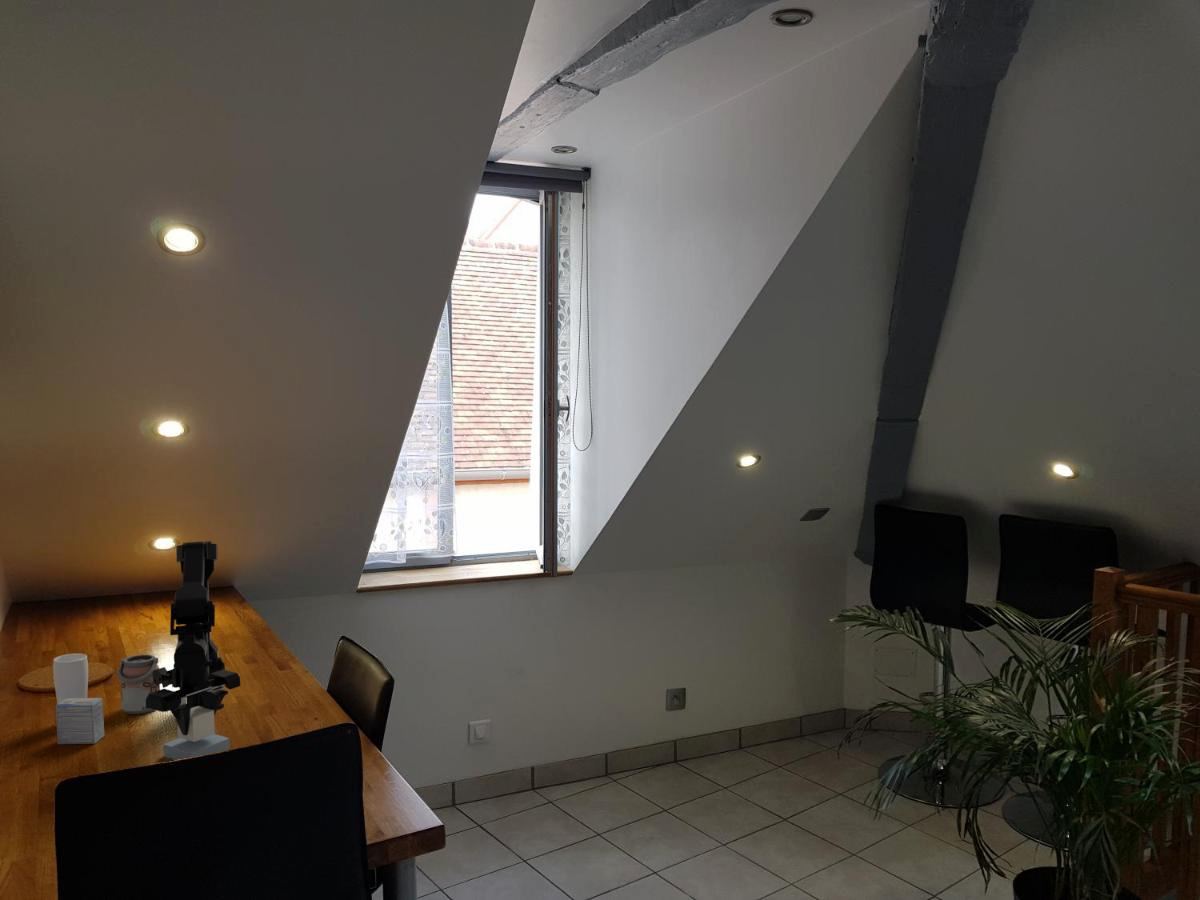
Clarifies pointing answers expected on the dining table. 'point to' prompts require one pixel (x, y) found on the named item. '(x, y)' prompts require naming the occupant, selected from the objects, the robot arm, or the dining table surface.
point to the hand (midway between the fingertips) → (196, 730)
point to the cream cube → (199, 724)
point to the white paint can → (137, 682)
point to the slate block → (195, 747)
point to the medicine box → (80, 721)
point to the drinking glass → (70, 676)
